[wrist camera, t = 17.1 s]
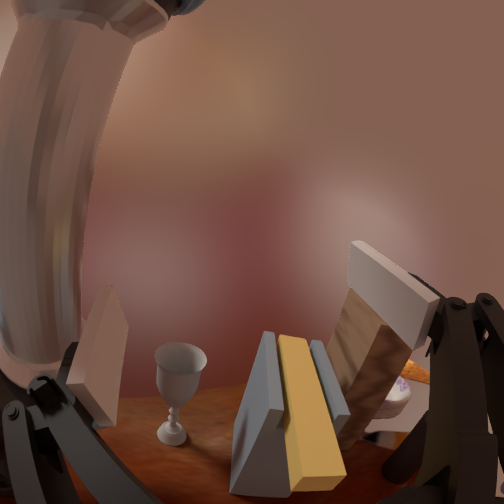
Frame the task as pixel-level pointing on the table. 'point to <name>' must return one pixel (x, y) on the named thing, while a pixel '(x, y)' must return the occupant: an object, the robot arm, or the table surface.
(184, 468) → the table surface
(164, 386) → the chalice
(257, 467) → the grey u cradle
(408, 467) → the bottle
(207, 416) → the table surface
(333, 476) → the ochre bar
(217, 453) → the table surface
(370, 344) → the walnut pedestal
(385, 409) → the paper bowls
